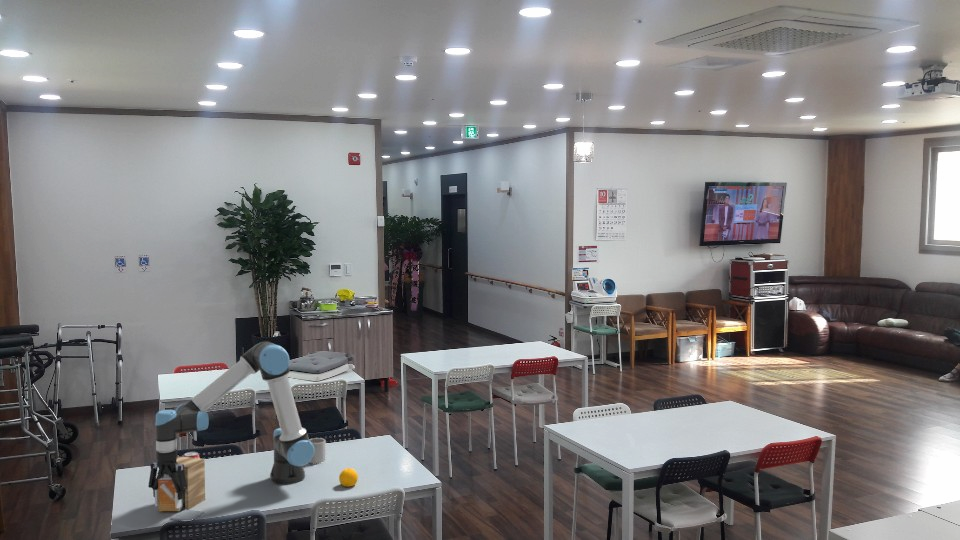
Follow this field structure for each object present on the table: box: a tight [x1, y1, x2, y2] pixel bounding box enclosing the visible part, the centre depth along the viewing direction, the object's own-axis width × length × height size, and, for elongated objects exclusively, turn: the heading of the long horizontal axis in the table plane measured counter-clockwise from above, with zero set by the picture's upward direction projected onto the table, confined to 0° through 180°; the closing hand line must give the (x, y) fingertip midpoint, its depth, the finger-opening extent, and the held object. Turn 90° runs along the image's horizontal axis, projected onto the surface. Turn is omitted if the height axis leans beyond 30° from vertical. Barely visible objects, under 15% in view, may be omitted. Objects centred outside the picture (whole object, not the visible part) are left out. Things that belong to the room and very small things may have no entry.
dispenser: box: [164, 456, 206, 510], centre depth 303 cm, size 12×11×17 cm
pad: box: [169, 508, 206, 521], centre depth 290 cm, size 9×9×1 cm
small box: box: [158, 474, 185, 512], centre depth 296 cm, size 8×6×13 cm
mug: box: [308, 437, 327, 464], centre depth 359 cm, size 12×9×10 cm
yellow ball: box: [338, 467, 359, 488], centre depth 325 cm, size 8×8×8 cm
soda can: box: [183, 451, 201, 459], centre depth 331 cm, size 7×7×12 cm
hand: (168, 506), depth 294 cm, fingers closed on small box, 9 cm apart
